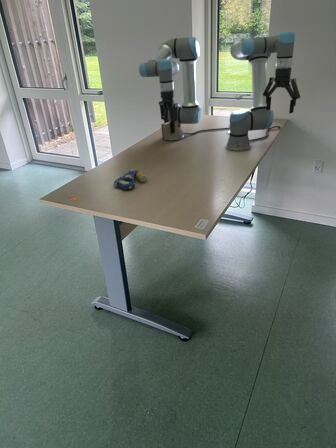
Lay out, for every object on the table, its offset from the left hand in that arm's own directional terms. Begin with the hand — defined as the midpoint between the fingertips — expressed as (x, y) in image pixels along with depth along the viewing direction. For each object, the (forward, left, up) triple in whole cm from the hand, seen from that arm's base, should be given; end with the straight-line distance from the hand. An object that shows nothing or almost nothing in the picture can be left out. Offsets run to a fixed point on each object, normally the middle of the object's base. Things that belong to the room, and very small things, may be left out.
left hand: (170, 132), depth 197 cm
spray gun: (+33, +13, -19) cm, 40 cm away
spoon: (-74, -33, -19) cm, 84 cm away
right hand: (-45, +41, +11) cm, 61 cm away
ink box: (0, 0, -3) cm, 3 cm away
